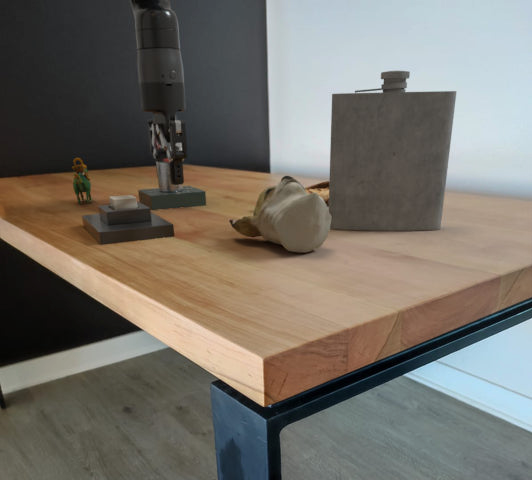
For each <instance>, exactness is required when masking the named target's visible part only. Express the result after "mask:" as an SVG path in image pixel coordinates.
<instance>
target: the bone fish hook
mask: <svg viewBox="0 0 532 480" xmlns="http://www.w3.org/2000/svg"><path fill="white" fill-rule="evenodd" d="M304 188H305V191H306V193H307V194H308V195H309V194H311V193H314V192H316V193H317V194H318V195H319V196H320V197H321V198H323V200H324V202H325V203H326V205H327V206H329V180H327V181H326V180H325V181H322V182H319V183H316V184H313V185H309V186H307V187H304Z"/></svg>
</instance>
